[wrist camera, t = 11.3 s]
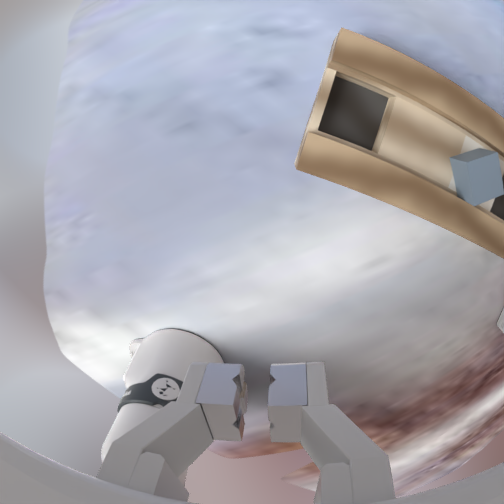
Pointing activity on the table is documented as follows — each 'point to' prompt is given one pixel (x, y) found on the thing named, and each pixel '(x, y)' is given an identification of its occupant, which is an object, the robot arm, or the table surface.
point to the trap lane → (401, 136)
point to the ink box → (501, 321)
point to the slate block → (477, 176)
